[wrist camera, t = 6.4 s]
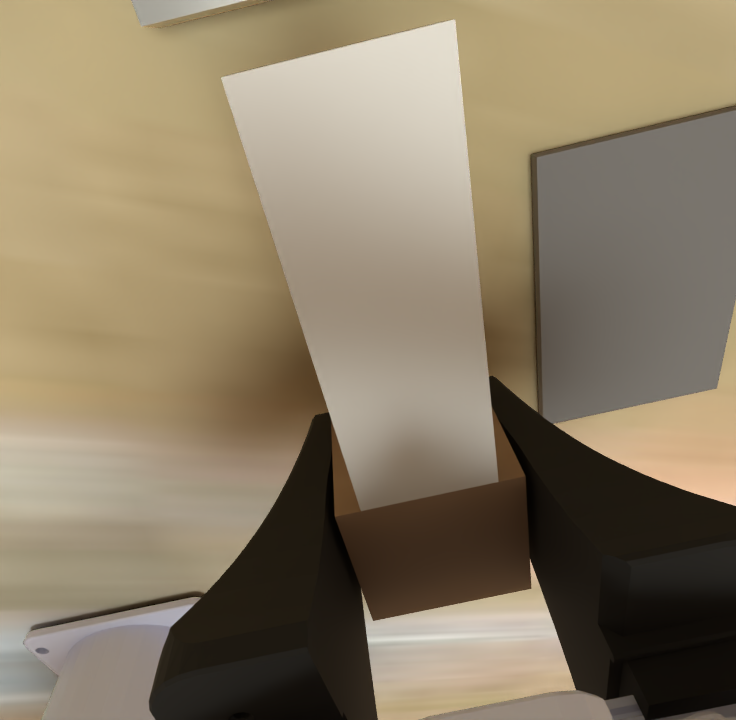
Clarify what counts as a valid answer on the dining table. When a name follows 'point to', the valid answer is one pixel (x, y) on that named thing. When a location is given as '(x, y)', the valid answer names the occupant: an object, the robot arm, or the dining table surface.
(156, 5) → the tile
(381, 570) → the brown white angled block
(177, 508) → the dining table surface
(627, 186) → the mat
